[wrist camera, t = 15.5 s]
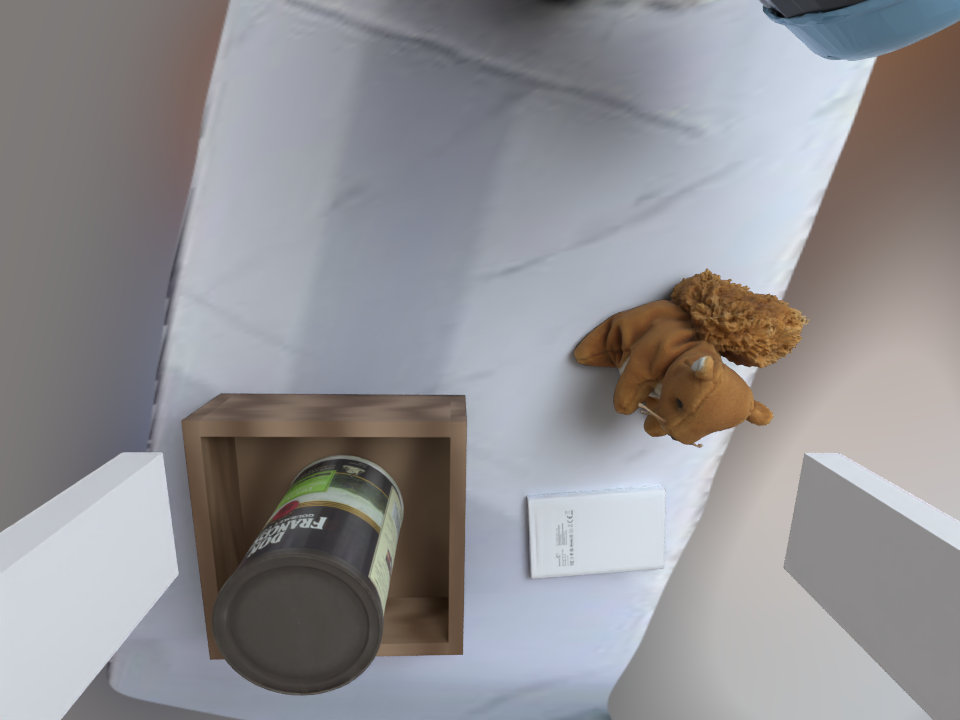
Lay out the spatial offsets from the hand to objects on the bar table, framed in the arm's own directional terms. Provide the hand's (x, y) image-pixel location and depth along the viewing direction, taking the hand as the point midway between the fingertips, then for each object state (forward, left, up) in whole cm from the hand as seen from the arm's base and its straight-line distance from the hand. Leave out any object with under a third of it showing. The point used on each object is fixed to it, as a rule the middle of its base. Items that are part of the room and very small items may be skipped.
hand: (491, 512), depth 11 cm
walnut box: (+10, +18, -33) cm, 39 cm away
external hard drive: (-12, +21, -34) cm, 41 cm away
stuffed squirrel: (-17, +2, -33) cm, 37 cm away
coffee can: (+10, +18, -32) cm, 38 cm away
